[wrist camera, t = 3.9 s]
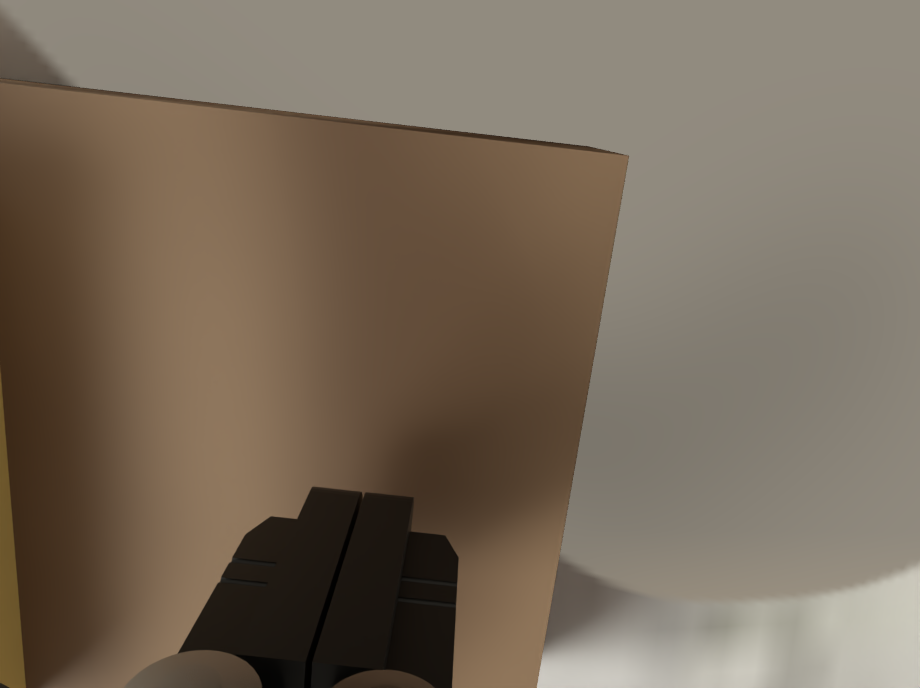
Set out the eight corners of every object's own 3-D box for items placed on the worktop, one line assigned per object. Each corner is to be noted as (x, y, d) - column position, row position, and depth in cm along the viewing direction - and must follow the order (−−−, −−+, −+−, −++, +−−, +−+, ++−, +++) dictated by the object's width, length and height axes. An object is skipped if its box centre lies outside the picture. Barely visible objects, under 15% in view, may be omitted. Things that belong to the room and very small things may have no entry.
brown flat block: (589, 146, 14) (629, 155, 10) (507, 664, 17) (513, 818, 13) (-407, 31, 14) (-750, -4, 10) (-287, 573, 17) (-505, 701, 13)
